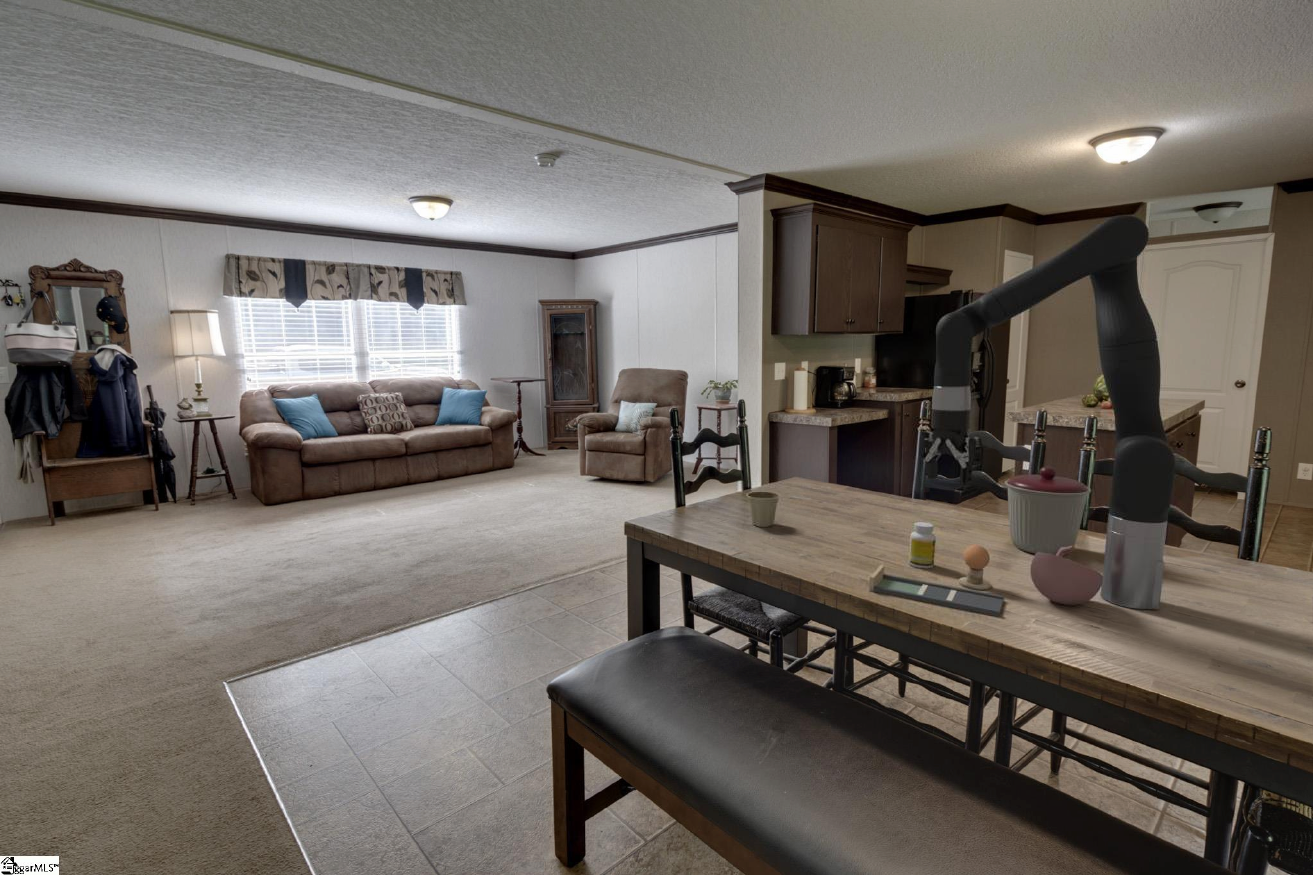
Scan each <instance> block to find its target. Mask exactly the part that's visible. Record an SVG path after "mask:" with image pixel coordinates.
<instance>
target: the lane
mask: <svg viewBox="0 0 1313 875" xmlns="http://www.w3.org/2000/svg"><path fill="white" fill-rule="evenodd" d="M868 590H869V592H875V593H879V594H884V595H887V596H888V595H889V596H892V597H893V596H894V597H899V598H904V599H909V600H915V601H918V602H923V603H928V604H933V605H939V606H943V607H949V608H953V609H959V610H963V611H969V612H972V611H973V613H978V614H983V615H989V616H991V617H993V616H994V617H998V618H999V617H1000V615H1001V612H1002V607H1003V605H1004V599H1005V595H1000V594H995V593H990V592H989V593H988V592H984V591H980V590H975V589H969V588H964V587H963V588H961V587H957V586H953V585H947V584H946V585H945V584H941V583H934V582H930V581H924V580H918V579H914V578H909V577H903V576H898V575H892V574H887V573H886V574H885V564H879V566H878V567H877V568H876V570H874V572H872V574H871V575H870V577H869V589H868Z"/></svg>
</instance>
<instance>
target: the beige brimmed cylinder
mask: <svg viewBox="0 0 1313 875" xmlns="http://www.w3.org/2000/svg"><path fill="white" fill-rule="evenodd" d="M958 584H959V585H960V586H962V587H963V588H965V589H968V590H974V591H986V590H989V589H991V583H990V581H988V580H986V579H984V568H982V569H973V568H971V567H969V566H967V575H966V576H963V577H960V578H959V580H958Z"/></svg>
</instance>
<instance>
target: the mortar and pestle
mask: <svg viewBox="0 0 1313 875" xmlns="http://www.w3.org/2000/svg"><path fill="white" fill-rule="evenodd" d="M1075 550H1076V547H1075V546H1069V547H1061V548H1060V549H1059V551H1058V552H1057V554H1056V555H1053V554H1051V553H1042V552H1037V553H1036V554H1034V556H1033V558H1032V560H1031V564H1030V567H1029V568H1030V578H1031V580H1032V583H1033V585H1034V587H1035V588H1036V589H1037V591H1038V592H1039V593H1040V594H1041V595H1042V596H1043V597H1045V598H1046V599H1048V600H1050V601H1052V602H1054V603H1057V604H1061V605H1066V606H1075V605H1081V604H1084V603H1086V602H1088V601H1090V600H1092V599H1093V598H1094V597H1095V596H1096V595H1097V594H1098V593H1099V592H1100V591H1101V585H1102V581H1103V574H1102V573H1100V572H1098V571H1097V570H1095V569H1093V568H1091V567H1089V566H1086V565H1085V564H1082V563H1081V564H1080V563H1079V562H1078V561H1074V560H1071V559H1069V558H1065V557H1064V556H1065V555H1066V554H1065V553H1067V552H1069V553H1072V552H1073V551H1075ZM1064 554H1065V555H1064Z"/></svg>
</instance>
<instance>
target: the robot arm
mask: <svg viewBox="0 0 1313 875" xmlns="http://www.w3.org/2000/svg"><path fill="white" fill-rule="evenodd" d="M1149 236H1150V232H1149V228H1148V226H1147V224H1146V223H1145V222H1144V220H1142V219H1141V218H1139V217H1137V216H1134V215H1129V214H1122V215H1116V216H1115V215H1114V216H1112V217H1108V218H1106V219H1104V220H1103V221H1101V222H1100V223H1099V224H1097V225H1096V226H1095V227H1094V228H1092V230H1090V232H1088V233H1087V234H1086V235H1085V236H1084V237H1082V238H1081V239H1080V240H1078V241H1077V242H1075V243H1074V244H1072V245H1071V246H1069V247H1068V248H1067V249H1064V250H1063V251H1062V252H1060V253H1058V254H1056V255H1054V256H1053V257H1051V258H1049V259H1048V260H1046V261H1044V262H1043V263H1041V264H1038V265H1036V266H1035V267H1032V268H1030V269H1029V270H1027V271H1025V272H1023V273H1020V274H1019V275H1017V276H1015V277H1013V278H1010V279H1009V280H1007V281H1006V282H1004V283H1002V284H1000V285H998V286H996V287H994V288H992V289H991V290H989V291H987V292H986V293H984V294H982V295H981V296H980V297H978V298H977V299H976V300H974V301H973V302H970V303H969V304H966V305H964V306H962V307H961V308H960V307H959V309H956V310H955V311H952V312H950V313H949V312H948V313H947V314H945V315H944V316H942V317H941V318H940V319H939V321H938V322H937V324H936V328H935V335H936V336H935V337H936V338H935V339H936V342H935V345H936V346H935V348H936V354H935V355H936V362H935V367H934V373H933V374H934V375H933V381H934V382H933V385H934V386H933V393H932V398H931V399H932V401H931V402H932V403H931V425H930V426H931V428H932V429H933V431H931V430H926V431H921V432H920V437H919V438H920V440H919V453H918V457H920V459H924V460H925V462H926V476H927V478H928V479H929V480H930V479H931V480H934V479H937V478H938V469H939V468H938V466H939V465H938V464H939V461H938V459H939V458H940V457H941V456H942V455H943V454H947V455H949V456H953V457H954V459H955V460H957V462H958V463H959V465H960V466H961V467H960V472H959V473H960V474H959V476H960V477H959V485H960V486H964V487H965V486H969V485H970V484H971V483H972V479H973V468H974V467H978V466H981V465H982V463H983V460H982V454H983V453H982V451H983V449H982V441H983V440H982V437H980V436H973V437H970V436H969V434H968V431H969V430H970V426H971V404H972V394H971V377H972V376H971V372H972V370H971V368H972V366H971V357H972V349H973V339H974V338H975V337H977V336H978V335H981V334H982V333H984V332H985V331H987V330H988V329H990V328H992V327H995V326H998V325H1000V324H1003V323H1005V322H1007V321H1009V320H1011V319H1013V318H1014V317H1016V316H1019V315H1020V314H1023V313H1024V312H1026V311H1028V310H1030V309H1031V308H1033V307H1035V306H1036V305H1038V304H1040V303H1041V302H1043V301H1045V300H1046V299H1048V298H1050V297H1051V296H1052V295H1054V294H1056V293H1057V292H1060V291H1061V290H1063V289H1064V288H1066V287H1067V286H1070V285H1072V284H1074V283H1076V282H1077V281H1080V280H1081V279H1083V278H1086V277H1087V276H1089V279H1090V282H1091V287H1092V290H1093V294H1094V295H1093V296H1094V302H1095V303H1094V304H1095V323H1096V334H1097V335H1096V336H1097V345H1098V346H1097V347H1098V352H1099V353H1098V354H1099V360H1100V367H1101V371H1102V376H1103V379H1104V380H1103V381H1104V384H1105V388H1106V392H1107V393H1108V397H1109V400H1110V402H1111V406H1112V409H1113V415H1114V427H1115V429H1114V430H1115V432H1114V433H1115V447H1114V448H1115V450H1114V462H1113V470H1112V471H1113V472H1112V483H1111V491H1110V497H1109V498H1110V500H1109V507H1108V517H1107V518H1108V519H1107V529H1106V537H1105V550H1104V557H1103V558H1104V559H1103V569H1102V576H1103V581H1102V585H1101V588H1100V597H1101V598H1102V599H1104V600H1106V601H1107V602H1109V603H1111V604H1114V605H1118V606H1121V607H1125V608H1129V609H1137V610H1156V611H1159V610H1160V605H1161V597H1162V596H1161V595H1162V589H1163V588H1162V587H1163V579H1164V571H1165V562H1164V552H1165V544H1166V536H1167V526H1168V518H1169V511H1170V510H1171V509H1170V508H1171V504H1172V496H1173V489H1174V480H1175V473H1176V472H1175V471H1176V456H1175V454H1174V452H1173V451H1172V448H1171V446H1170V444H1169V441H1168V437H1167V434H1166V431H1165V425H1164V423H1163V419H1162V415H1161V410H1160V409H1161V408H1160V396H1161V377H1162V376H1161V374H1162V373H1161V357H1160V349H1159V343H1158V342H1159V341H1158V335H1157V331H1156V327H1155V325H1154V321H1153V319H1152V317H1151V314H1150V312H1149V310H1148V308H1147V306H1146V303H1145V302H1144V299H1143V297H1142V295H1141V291H1140V286H1139V279H1138V278H1139V275H1138V257H1139V256H1140V255H1141V253H1143V252H1144V250H1145V249H1146V247H1147V244H1148V241H1149V239H1150V237H1149Z"/></svg>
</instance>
